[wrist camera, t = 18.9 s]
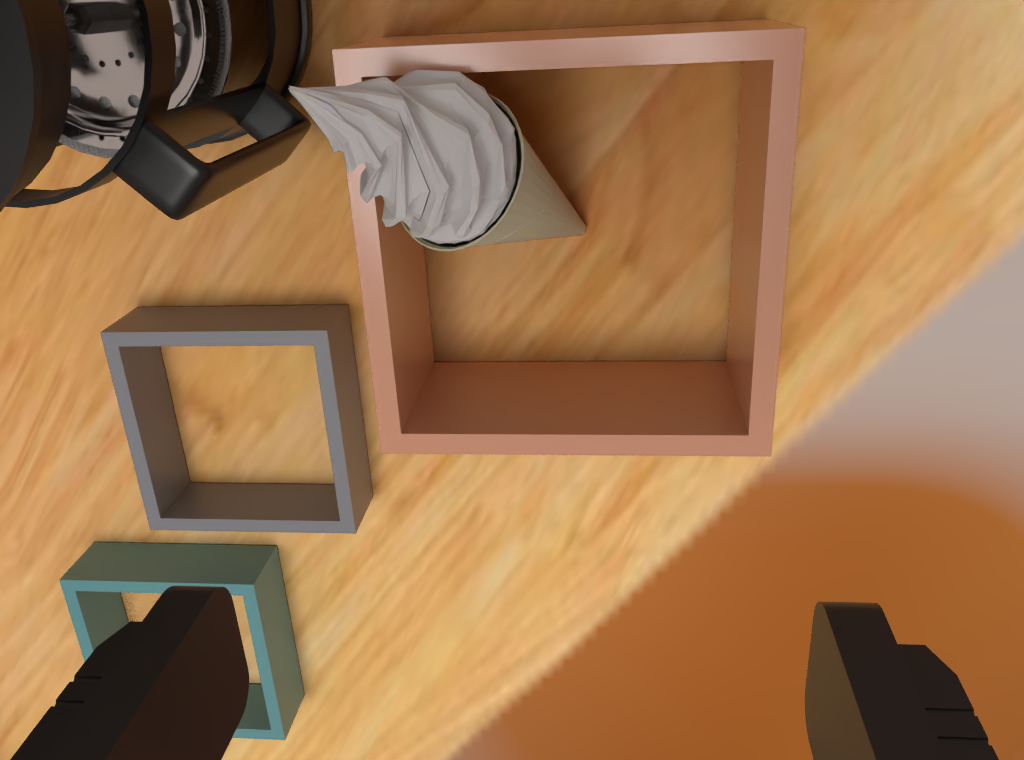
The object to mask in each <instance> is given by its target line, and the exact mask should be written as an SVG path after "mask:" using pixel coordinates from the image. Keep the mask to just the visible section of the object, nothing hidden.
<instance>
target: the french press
mask: <svg viewBox="0 0 1024 760" xmlns="http://www.w3.org/2000/svg"><path fill="white" fill-rule="evenodd" d="M267 2H268V7H269V21H270V41H269V51H268V56H267V59H266V62H265V64H264V66H263V68H262V70H261V72H260V74H259V75H258V77H257V79H256V80H255V81H254V82H253V83H252V85H251V86H248V87H245V88H241V89H238V90H234V91H231V92H227V93H224V94H222V92H223V89H224V87H225V84H226V81H227V77H228V73H229V68H230V63H231V53H232V26H231V15H230V7H229V3H228V0H0V212H1V211H2V209H3V208H4V207H21V208H30V207H36V206H42V205H49V204H55V203H59V202H61V201H64V200H66V199H69V198H71V197H74V196H76V195H79V194H81V193H84V192H86V191H89V190H91V189H94V188H96V187H99V186H101V185H104V184H106V183H109V182H111V181H112V180H113V179H115V178H116V177H117V176H118V177H120V178H121V179H122V180H123V181H125V182H126V183H127V184H128V185H129V186H131V187H132V188H133V189H134V190H136V191H137V192H138V193H139V194H141V195H142V196H143V197H144V198H145V199H147V200H148V201H149V202H150V203H152V204H153V205H154V206H155V207H157V208H158V209H159V210H160V211H162V212H163V213H164V214H166V215H167V216H169V217H170V218H172V219H175V220H179V219H182V218H185V217H186V216H188V215H190V214H192V213H194V212H195V211H197V210H199V209H201V208H203V207H205V206H206V205H208V204H210V203H212V202H214V201H215V200H217V199H219V198H221V197H223V196H225V195H226V194H228V193H230V192H232V191H234V190H235V189H237V188H239V187H241V186H243V185H244V184H246V183H248V182H250V181H252V180H254V179H255V178H257V177H259V176H261V175H263V174H264V173H266V172H268V171H270V170H272V169H273V168H275V167H277V166H279V165H281V164H282V163H283V162H285V161H286V160H287V159H288V157H289V156H290V155H291V153H292V152H293V151H294V149H295V148H296V147H297V145H298V144H299V143H300V141H301V140H302V139H303V137H304V136H305V135H306V133H307V132H308V131H309V129H310V126H311V123H310V121H309V120H308V119H307V118H306V117H305V116H304V115H303V114H302V113H300V112H299V111H298V110H297V109H296V108H295V107H294V106H292V105H291V104H290V103H289V102H288V101H289V100H290V98H291V97H292V94H291V93H290V91H289V89H288V88H290V87H289V86H293V87H297V86H298V84H299V83H300V81H301V78H302V75H303V72H304V69H305V66H306V63H307V60H308V57H309V50H310V42H311V34H312V20H311V3H310V0H267ZM248 133H249V134H250V135H251V136H252V137H253V138H255V139H256V140H257V141H258V142H256V143H253V144H251V145H249V146H247V147H245V148H242V149H240V150H238V151H236V152H233V153H231V154H229V155H227V156H225V157H222V158H220V159H218V160H216V161H213V162H211V163H204V162H203V161H201V160H199V159H197V158H196V157H195V156H194V155H192V154H191V153H190V152H189V151H188V150H186V149H190V148H196V147H199V146H202V145H204V144H212V143H218V142H224V141H230V140H234V139H236V138H239V137H241V136H243V135H246V134H248ZM63 144H64V145H66V146H69V147H71V148H73V149H75V150H77V151H79V152H83V153H87V154H91V155H95V156H99V157H103V158H112V159H111V160H110V161H109V162H108V164H107V165H106V166H105V167H104V168H103V169H102V170H101V171H100V172H98V173H97V174H96V175H94V176H93V177H91V178H90V179H89V180H87V181H86V182H85V183H83V184H82V185H81V186H78V187H72V188H66V189H60V190H36V189H24V188H25V187H26V186H28V185H29V184H30V183H32V181H33V180H34V179H35V178H36V176H37V175H38V174H39V173H40V171H41V170H42V169H43V168H44V166H45V165H46V164H47V163H48V161H49V160H50V159H51V156H52V154H53V152H54V150H55V148H56V147H57V146H60V145H63Z"/></svg>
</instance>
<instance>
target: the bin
mask: <svg viewBox="0 0 1024 760" xmlns="http://www.w3.org/2000/svg"><path fill="white" fill-rule="evenodd" d="M804 39H805V28H803V27H799V26H795V25H791V24H787V23H783V22H778V21H774V20H770V19H758V20H737V21H716V22H694V23H673V24H652V25H631V26H610V27H588V28H567V29H546V30H525V31H504V32H483V33H461V34H440V35H419V36H398V37H382V38H378V39H374V40H370V41H365V42H361V43H357V44H353V45H349V46H345V47H341V48H337V49H333V50H332V56H333V65H334V73H335V81H336V86H347V85H351V84H355V83H358V82H363V81H366V80H370V79H374V78H378V77H387V78H388V79H389V80H391V81H392V82H395V81H396V80H398V79H399V78H401V77H402V76H404V75H405V74H407V73H408V72H410V71H415V70H434V71H459V72H460V73H469V72H492V71H516V70H540V69H564V68H587V67H611V66H635V65H659V64H682V63H706V62H730V61H742V74H741V92H740V111H739V130H738V148H737V167H736V185H735V204H734V222H733V241H732V259H731V278H730V297H729V315H728V334H727V352H726V361H586V362H434V351H433V340H432V329H431V318H430V308H429V297H428V286H427V275H426V264H425V253H424V246H423V245H421V244H420V243H418V242H417V241H416V240H415V239H413V238H412V237H411V235H410V234H409V233H408V232H407V231H406V230H405V228H404V226H403V224H402V222H401V221H400V222H398V223H397V224H395V225H394V226H392V227H385V225H384V223H383V221H382V215H383V209H384V199H383V196H381V195H379V196H376V197H373V198H372V199H371V200H370V201H369V202H368V203H367V204H366V203H365V201H364V200H363V199H362V197H361V196H360V177H361V173H362V172H363V171H364V169H365V168H366V166H365V163H361V164H359V165H358V166H357V167H356V168H355V170H354V171H353V172H351V173H349V171H348V170H347V166H346V170H347V178H348V187H349V195H350V203H351V211H352V219H353V227H354V235H355V243H356V252H357V260H358V268H359V276H360V284H361V292H362V300H363V308H364V317H365V325H366V333H367V341H368V349H369V357H370V365H371V374H372V382H373V390H374V398H375V406H376V414H377V422H378V430H379V439H380V447H381V454H503V455H638V456H771V451H772V438H773V426H774V413H775V401H776V389H777V376H778V364H779V351H780V339H781V326H782V314H783V301H784V289H785V276H786V264H787V251H788V239H789V226H790V214H791V201H792V189H793V176H794V164H795V151H796V139H797V126H798V114H799V101H800V89H801V76H802V64H803V51H804Z"/></svg>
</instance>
